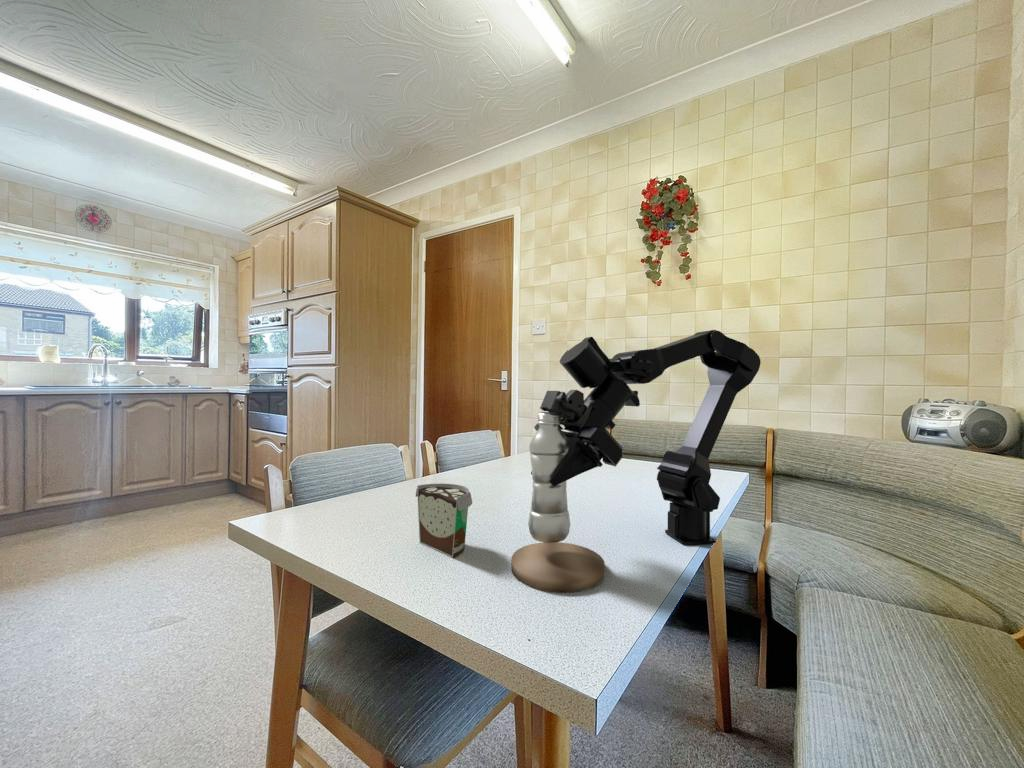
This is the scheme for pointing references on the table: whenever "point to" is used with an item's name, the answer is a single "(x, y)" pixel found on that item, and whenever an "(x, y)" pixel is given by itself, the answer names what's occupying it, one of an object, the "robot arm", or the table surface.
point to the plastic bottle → (548, 500)
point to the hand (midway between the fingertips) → (541, 479)
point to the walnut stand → (558, 567)
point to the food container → (443, 517)
